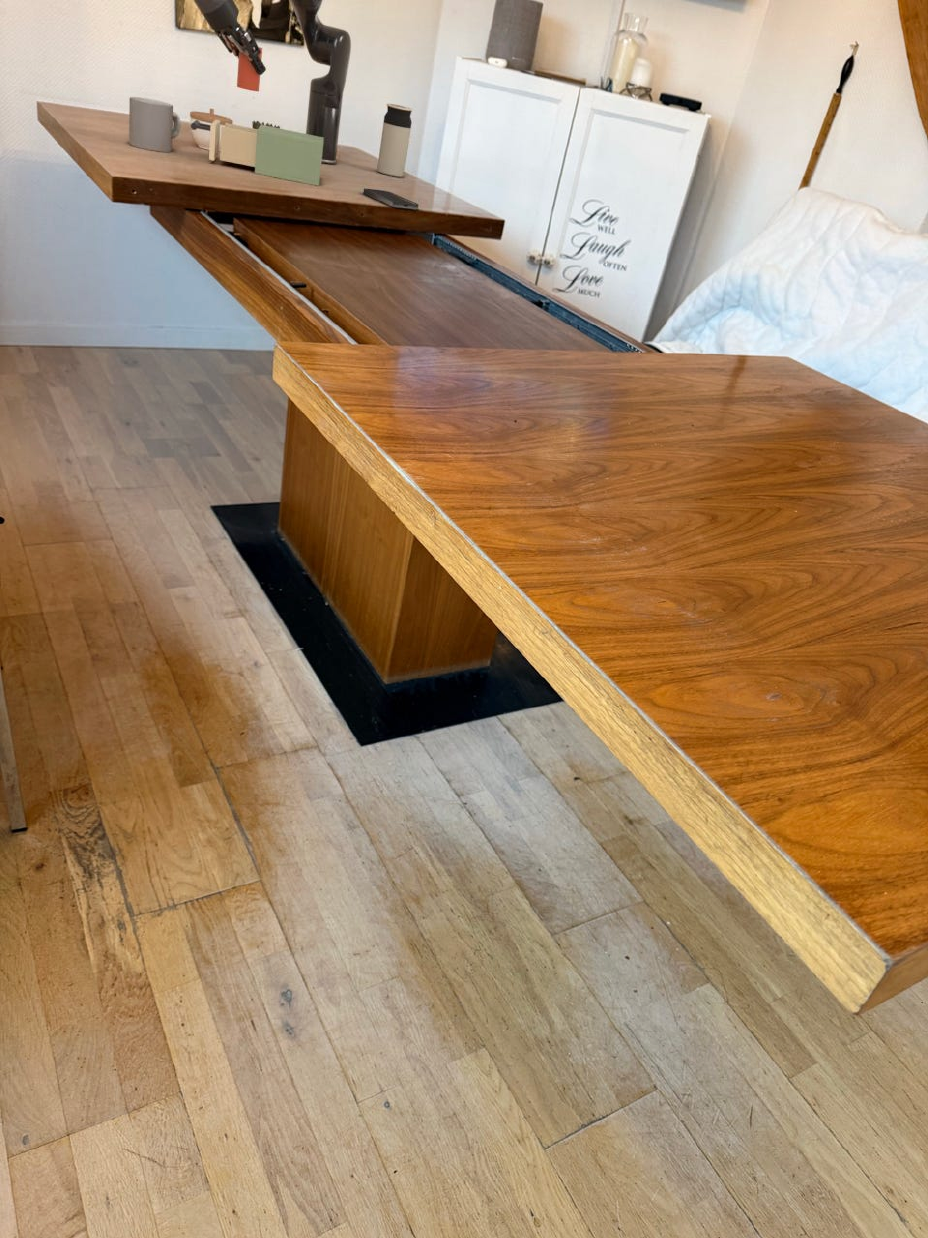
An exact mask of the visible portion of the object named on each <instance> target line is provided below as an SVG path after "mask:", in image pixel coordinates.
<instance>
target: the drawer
mask: <svg viewBox="0 0 928 1238" xmlns="http://www.w3.org/2000/svg"><path fill="white" fill-rule="evenodd" d="M191 128H192V129H193V130H196V129H197V128H198V129H203V130H207V131H210V147H209V150H208V160H209V161H215V160H216V159H217V158H218V157H219V161H223V162H228V163H233V164H238V165H243V166H247V167H253V168H255V160H256V146H257V132H258V129H253V127H247V126H243V125H237V124H233V123H232V124H229V123H225V127H222V129H221V148H220V151H219V138H220V120H215V121H213V122H212V123H211V125H207V124H203V123H200V122H199V121H198V120H196V121H194V122H193V123H192V124H191V127H190V129H191Z"/></svg>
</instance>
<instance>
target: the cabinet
mask: <svg viewBox="0 0 928 1238" xmlns="http://www.w3.org/2000/svg"><path fill="white" fill-rule="evenodd" d="M265 125H266V124H264V125H260V127H259V129H258V132H257V146H256V160H255V167H254V174H255V175H261V176H267V177H272V178H275V179H276V178H277V179H282V180H285V181H286V180H287V181H291V182H297V183H302V184H307V185H313V186H317V187H320V179H321V171H322V169H321V168H322V163H321V161H322V151H323V140H324V138H323V137H318V136H314V135H309V134H306V133H303V132H298V131H294V130H289V129H284V128H281V127H280V128H275V127H274V126H273V127H270V126H265Z"/></svg>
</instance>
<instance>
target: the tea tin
mask: <svg viewBox="0 0 928 1238" xmlns="http://www.w3.org/2000/svg"><path fill="white" fill-rule="evenodd" d="M244 46H245V45H244V44H243V45H242V46H241V47H244ZM258 47H259V49H260V51H261V53H260V54H259V55H258V56H259V58H260V60H261V61H262V57H263V56H262V55H263V47H260V46H258ZM247 52H248V51H247ZM252 52H253V51H252ZM236 77H237V78H236V88H240V89H242V90H243V89H244V90H247V91H252V92H260V83H261V75H259V74H257V72H256V70H255V69H254V67H253V65H252V64H251V62H250V60H249V59H248V58H247V56H246V55H245V54H244V53H241V52H240V51H239V59H238V63H237V76H236Z"/></svg>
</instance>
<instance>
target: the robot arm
mask: <svg viewBox="0 0 928 1238" xmlns="http://www.w3.org/2000/svg"><path fill="white" fill-rule="evenodd" d="M193 2H194V4H195V6H196V7H197V8H198V10H199V12H200V14H201V15H202V16H203V18H204V19H205V21H206V23H207V24H208V26H209V27H210V29H211V30H212V31H213V32H214V33H215V34H216V36H217V37H218V39H219V40H220V42H221V43H222V44H223V45H224V47H225V48H226V49H227V51H228V53H229V54H233V56H234V57H235V58H237V59H238V60H239V51H240V52H241V53H244V54H245V55H246V56H247V58H248V59H249V60H250V62H251V64H252V65H253V67H254V69H255V70H256V72H257V74H259V75H260V76H262V75H263V74H264V73H265V72H266V70H267V68H266V66H265V65H264V63H263V61H262V59H261V60H260V58H259V56H258V55H259V54H260V53H261V51H260V49H259V47H260V46H259V45H258V43H257V41H256V39H255V37H254V34H253V33H252V31H251V30H250V29H249V28H247V29H246V30H245V28H244V27H243V25H242V24H240V23H239V21H238V17H239V14H240V10H239V7H238V6H237V4H236V3H235V1H234V0H193ZM289 2H290V4H291V7H292V9H293V11H294V13H295V14H294V15H295V16H296V19H297V21H298V24H299V27H300V30H301V33H302V36H303V39H304V43H305V45H306V46H305V47H306V49H307V53H308V54H309V56H310V58H311V59H312V60H313V61H314V62H315V63H317V64H318V65H319V64H320V65H324V66H328V67H329V69H328V71H327V73H326V74H325V75H323V76H320V77H315V78H312V79H311V81H310V85H309V96H308V105H307V106H308V107H307V115H306V116H307V120H306V126H305V127H306V128H305V134H309V135H314V136H318V137H323V138H324V140H323V151H322V161H321V164H326V165H327V164H329V165H335V164H336V163H337V153H338V145H339V135H340V126H341V116H342V108H343V107H342V106H343V100H344V99H343V98H344V92H345V88H346V84H347V79H348V71H349V64H350V59H351V53H352V52H351V51H352V40H351V35H350V33H349V32H348V31H347V30H345V29H342V28H339V27H334V26H330V25H326V24H324V23H322V21H321V20H320V18H319V15H318V13H319V11H320V9H321V7H322V5H323V2H324V0H289ZM243 44H244V45H245V46H244V47H241V46H242V45H243ZM247 51H248V52H247ZM252 51H253V52H252Z"/></svg>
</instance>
